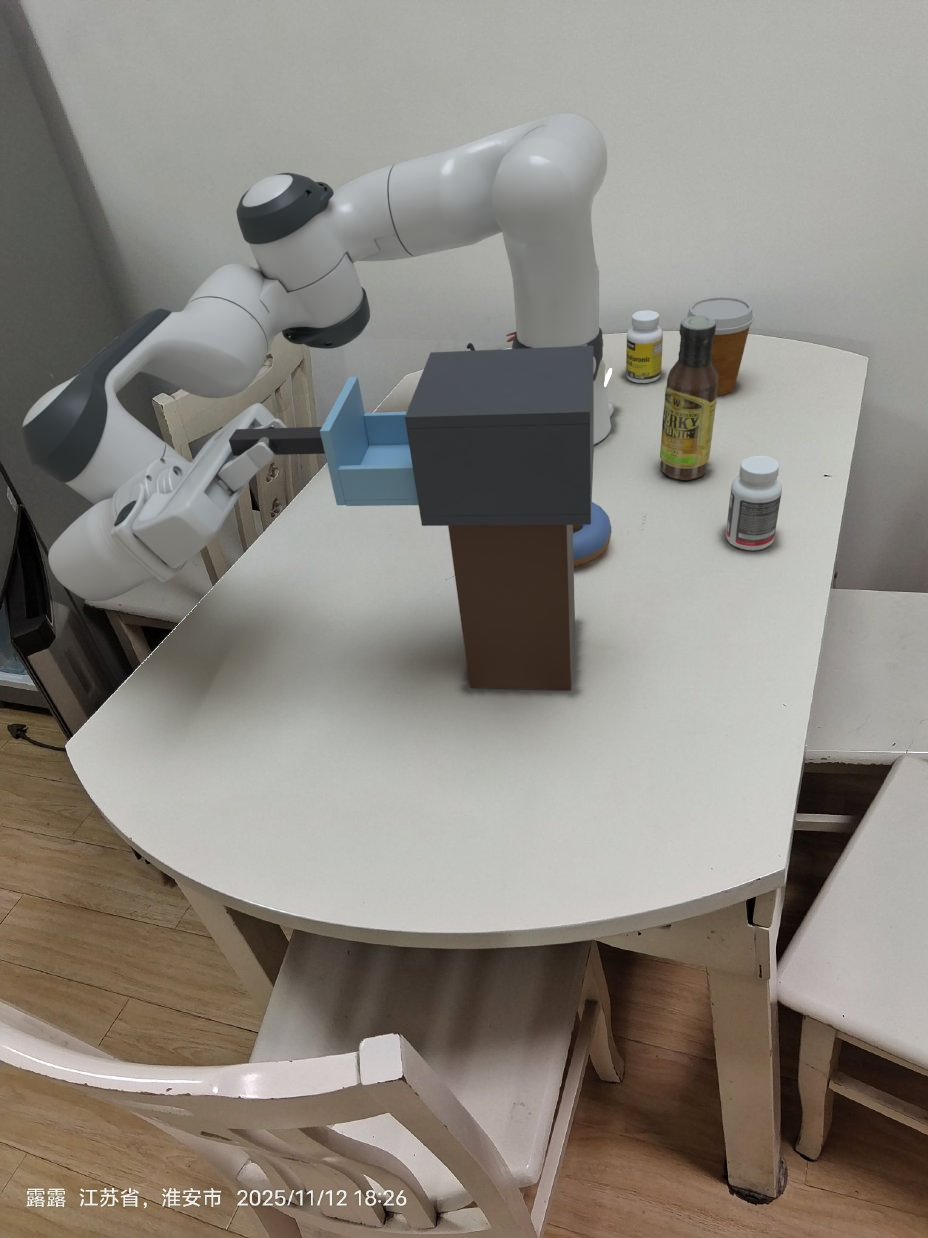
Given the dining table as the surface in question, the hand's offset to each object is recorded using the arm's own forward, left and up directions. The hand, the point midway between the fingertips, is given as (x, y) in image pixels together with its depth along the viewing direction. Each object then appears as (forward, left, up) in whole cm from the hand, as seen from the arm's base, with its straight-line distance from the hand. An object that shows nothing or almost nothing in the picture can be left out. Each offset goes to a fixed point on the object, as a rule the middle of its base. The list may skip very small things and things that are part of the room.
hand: (276, 437), depth 75 cm
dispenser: (+13, +16, -25) cm, 33 cm away
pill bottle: (+13, +48, -26) cm, 56 cm away
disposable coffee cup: (-18, +73, -26) cm, 79 cm away
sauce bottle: (-3, +53, -26) cm, 59 cm away
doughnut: (+1, +31, -26) cm, 40 cm away
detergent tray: (+5, +6, -4) cm, 8 cm away
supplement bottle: (-28, +68, -26) cm, 77 cm away
